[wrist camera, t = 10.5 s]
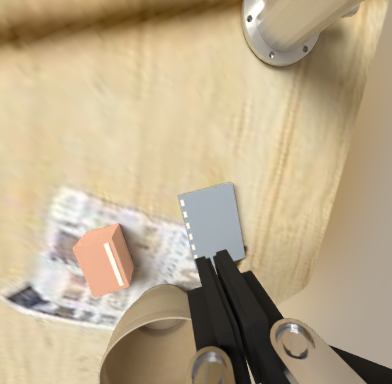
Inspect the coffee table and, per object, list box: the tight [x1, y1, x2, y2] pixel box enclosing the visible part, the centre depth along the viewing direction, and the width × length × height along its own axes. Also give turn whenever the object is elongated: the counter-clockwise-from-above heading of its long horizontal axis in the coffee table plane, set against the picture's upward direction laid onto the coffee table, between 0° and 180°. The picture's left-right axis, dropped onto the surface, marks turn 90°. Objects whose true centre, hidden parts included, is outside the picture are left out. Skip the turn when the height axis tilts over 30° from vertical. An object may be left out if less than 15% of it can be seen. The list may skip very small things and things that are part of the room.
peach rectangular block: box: [72, 224, 134, 298], centre depth 29 cm, size 5×8×5 cm, turn 13°
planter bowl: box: [98, 284, 196, 384], centre depth 30 cm, size 16×16×11 cm
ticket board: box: [178, 182, 245, 273], centre depth 33 cm, size 9×14×2 cm, turn 13°
